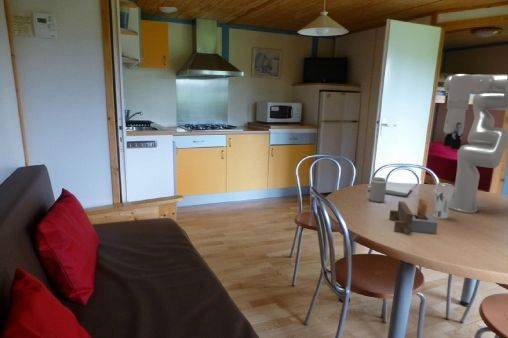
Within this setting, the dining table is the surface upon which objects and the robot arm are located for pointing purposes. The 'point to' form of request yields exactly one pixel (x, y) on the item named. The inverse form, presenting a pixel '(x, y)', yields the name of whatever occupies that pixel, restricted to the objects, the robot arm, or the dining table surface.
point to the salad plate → (397, 189)
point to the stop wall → (402, 218)
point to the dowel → (422, 209)
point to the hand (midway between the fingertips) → (451, 147)
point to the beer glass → (443, 200)
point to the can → (377, 189)
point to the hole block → (424, 224)
